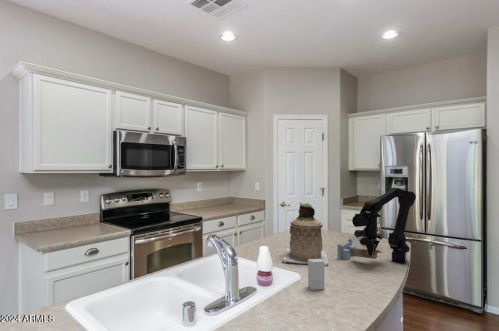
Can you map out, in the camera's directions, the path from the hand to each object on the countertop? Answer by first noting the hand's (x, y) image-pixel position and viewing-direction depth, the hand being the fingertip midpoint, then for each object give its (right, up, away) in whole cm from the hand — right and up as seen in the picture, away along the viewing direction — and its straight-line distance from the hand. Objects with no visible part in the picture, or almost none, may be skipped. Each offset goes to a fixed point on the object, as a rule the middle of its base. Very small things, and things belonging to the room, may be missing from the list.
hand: (371, 254), depth 159 cm
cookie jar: (-33, -6, +11) cm, 35 cm away
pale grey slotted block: (+8, -6, +29) cm, 31 cm away
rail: (-3, -2, +2) cm, 4 cm away
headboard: (-7, -5, +15) cm, 17 cm away
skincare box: (-36, -6, -30) cm, 48 cm away
